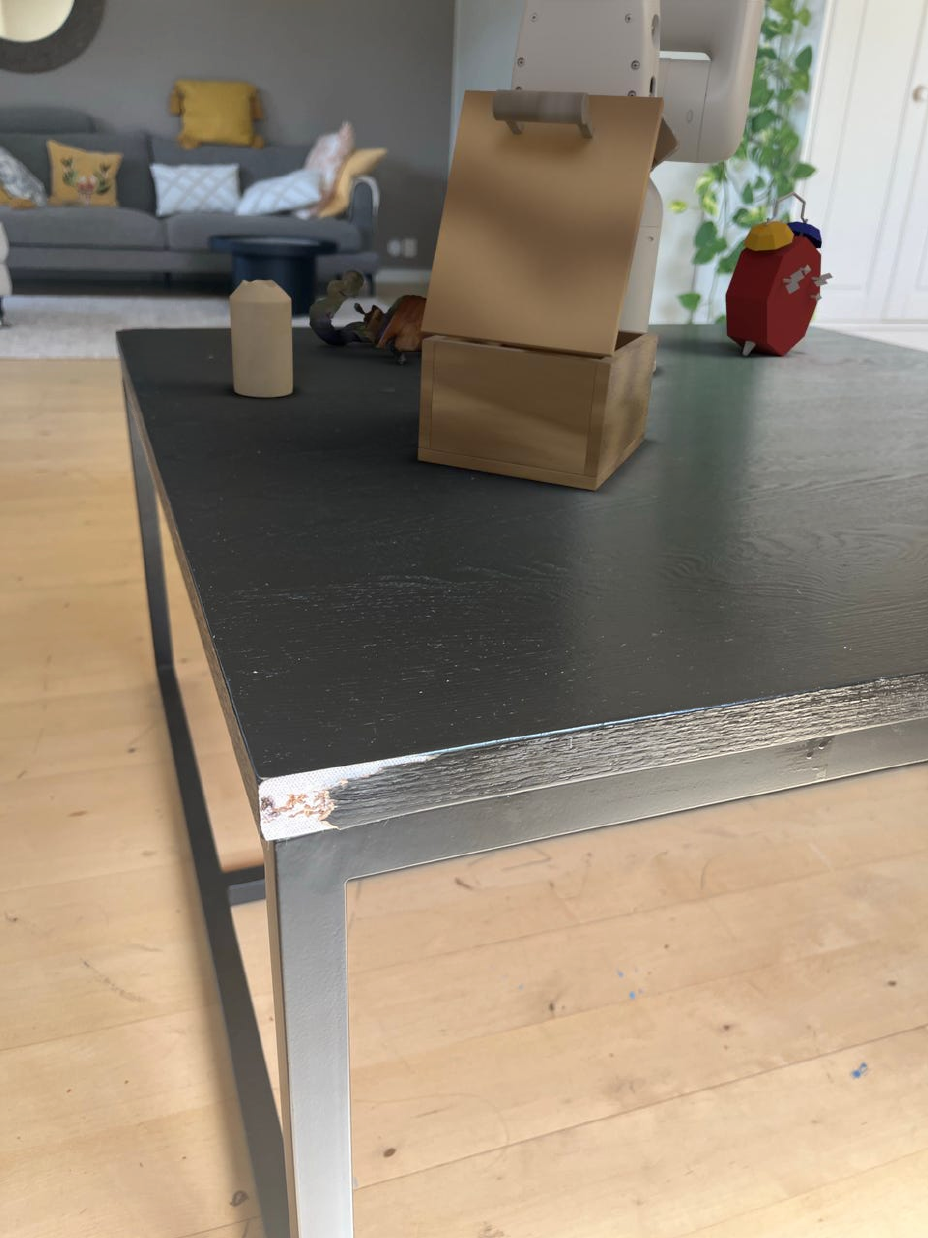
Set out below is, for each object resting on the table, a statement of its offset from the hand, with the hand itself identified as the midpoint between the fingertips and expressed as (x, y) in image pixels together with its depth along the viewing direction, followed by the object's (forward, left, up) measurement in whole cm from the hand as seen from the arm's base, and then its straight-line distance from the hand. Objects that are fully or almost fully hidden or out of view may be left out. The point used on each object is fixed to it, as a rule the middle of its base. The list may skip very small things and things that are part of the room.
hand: (567, 244), depth 73 cm
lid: (+8, 0, +2) cm, 8 cm away
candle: (-2, -29, -16) cm, 33 cm away
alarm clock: (-62, +12, -16) cm, 65 cm away
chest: (+3, 0, -15) cm, 16 cm away
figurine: (-27, -29, -16) cm, 43 cm away
